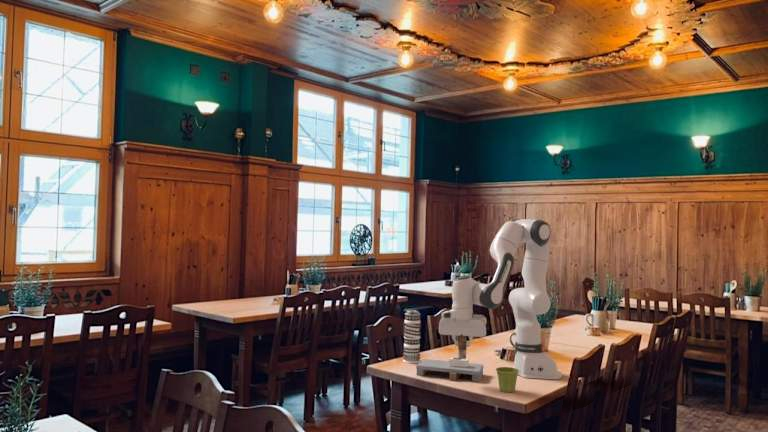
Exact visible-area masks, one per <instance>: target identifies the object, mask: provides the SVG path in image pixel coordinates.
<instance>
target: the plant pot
mask: <svg viewBox="0 0 768 432" xmlns="http://www.w3.org/2000/svg"><path fill="white" fill-rule="evenodd" d="M495 371H496V373H497V381H498V386H499V388H498V389H499V390H500V392H503V393H506V392H507V393H514V392H515V391H516V387H517V386H516V385H517V378H518V376H519V375H518V372H519V370H518V369H516V368H513V367H509V366H500V367H497V368H495ZM507 393H506V394H507Z"/></svg>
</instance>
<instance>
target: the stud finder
mask: <svg viewBox="0 0 768 432" xmlns="http://www.w3.org/2000/svg"><path fill="white" fill-rule="evenodd" d="M469 360H470V358H466V359H459V357H453V356H452V357H450V358H449V360H448V361H449V366H456V367H468V366H469V363H470V362H469Z"/></svg>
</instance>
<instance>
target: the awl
mask: <svg viewBox="0 0 768 432" xmlns="http://www.w3.org/2000/svg"><path fill="white" fill-rule="evenodd" d="M467 337H468V336H463V335H462V334H461V335H460V336H458V337H457V341H458V346H457V349H458V358H459V359H467V348H468V347H467V346H466V342H468V341H467Z"/></svg>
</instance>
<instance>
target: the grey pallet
mask: <svg viewBox="0 0 768 432" xmlns="http://www.w3.org/2000/svg"><path fill="white" fill-rule="evenodd" d="M415 368H416V375H417V376H421V377H422V376H425V374H427V372H428V371H435V372H443V373H449V374H448V375H449V376H448V379H449V380H448V381H452V382H456V381H458V379H459V378H460V377H461V375H462V374H463V375H471V381H472V382H480V381H481V379H482V378H483V375H484V364H481V363H473V362H472V363H470V362H469V366H468V367H456V366H449V360H442V359H441V360H438V359H431V358H430V359H429V358H423V359H422V360H421V361H420V362H419V363H416V366H415Z"/></svg>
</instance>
